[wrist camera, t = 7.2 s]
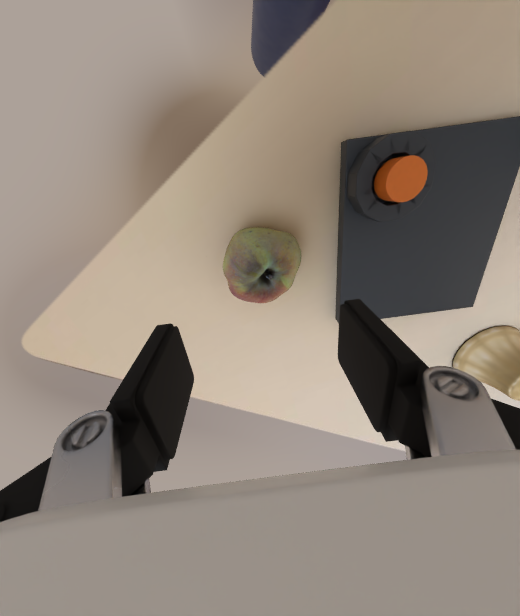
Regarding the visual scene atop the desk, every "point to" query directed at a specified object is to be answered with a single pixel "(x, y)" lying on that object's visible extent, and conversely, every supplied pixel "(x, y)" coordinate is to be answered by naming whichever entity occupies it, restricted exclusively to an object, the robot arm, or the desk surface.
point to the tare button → (401, 178)
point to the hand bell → (493, 359)
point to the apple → (261, 264)
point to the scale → (424, 217)
